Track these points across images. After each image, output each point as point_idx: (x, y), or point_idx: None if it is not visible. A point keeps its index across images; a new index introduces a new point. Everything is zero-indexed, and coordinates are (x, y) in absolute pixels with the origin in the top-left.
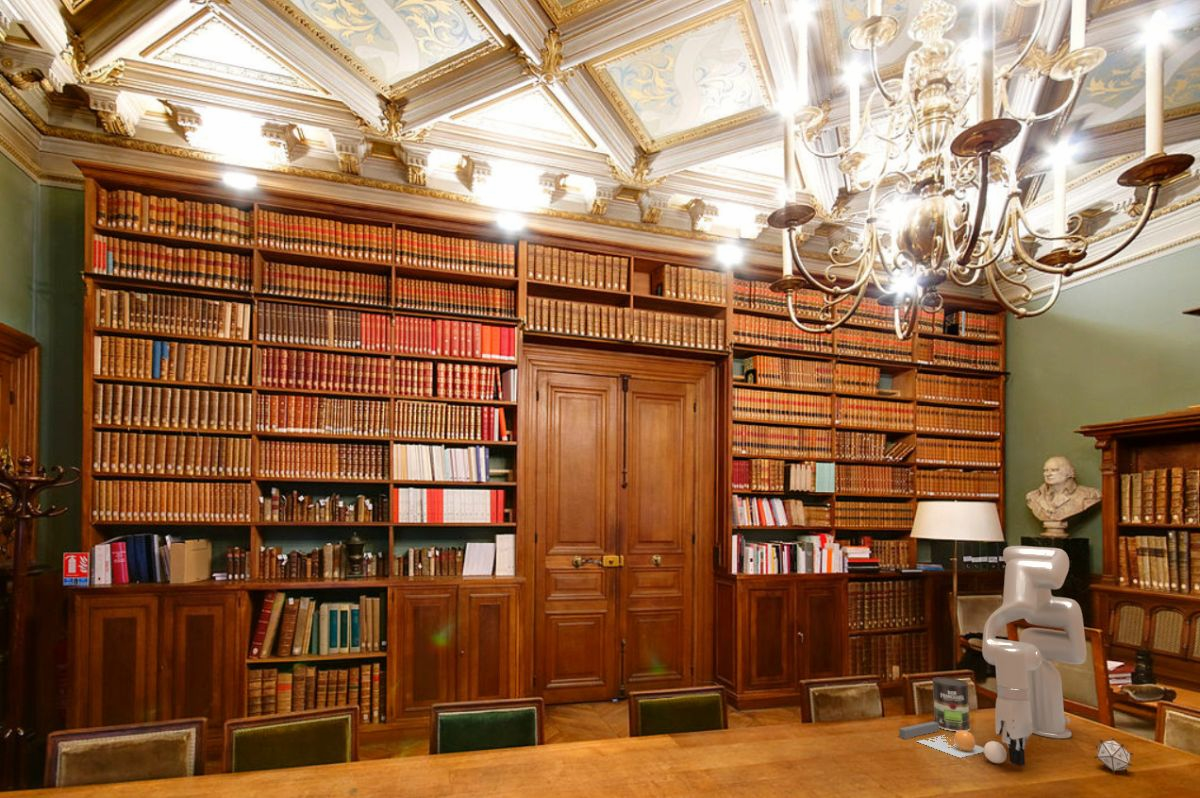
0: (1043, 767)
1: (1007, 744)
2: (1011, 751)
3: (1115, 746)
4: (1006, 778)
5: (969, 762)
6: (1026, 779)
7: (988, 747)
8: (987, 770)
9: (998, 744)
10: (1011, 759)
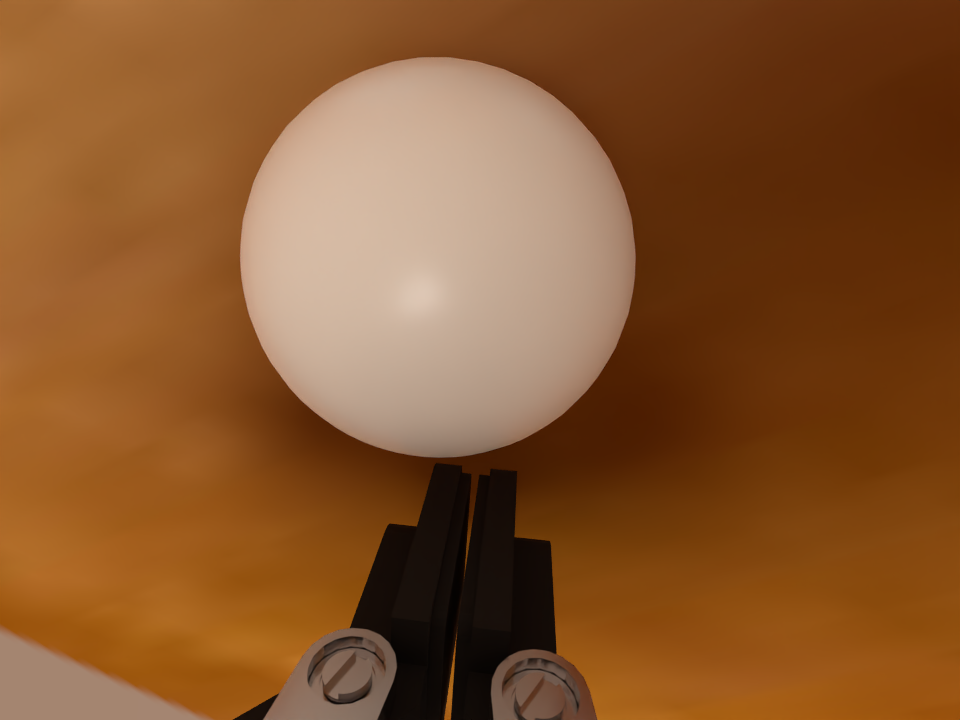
0: (823, 593)
1: (292, 681)
2: (355, 627)
3: None
4: (131, 518)
5: (104, 12)
6: (301, 617)
7: (246, 244)
8: (114, 314)
9: (383, 419)
10: (386, 529)
